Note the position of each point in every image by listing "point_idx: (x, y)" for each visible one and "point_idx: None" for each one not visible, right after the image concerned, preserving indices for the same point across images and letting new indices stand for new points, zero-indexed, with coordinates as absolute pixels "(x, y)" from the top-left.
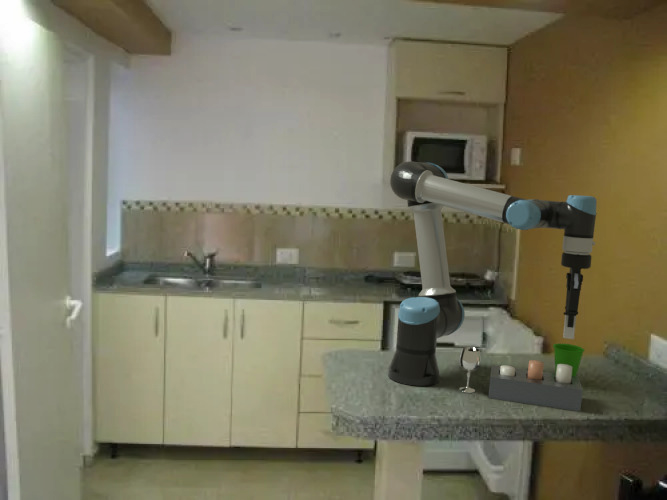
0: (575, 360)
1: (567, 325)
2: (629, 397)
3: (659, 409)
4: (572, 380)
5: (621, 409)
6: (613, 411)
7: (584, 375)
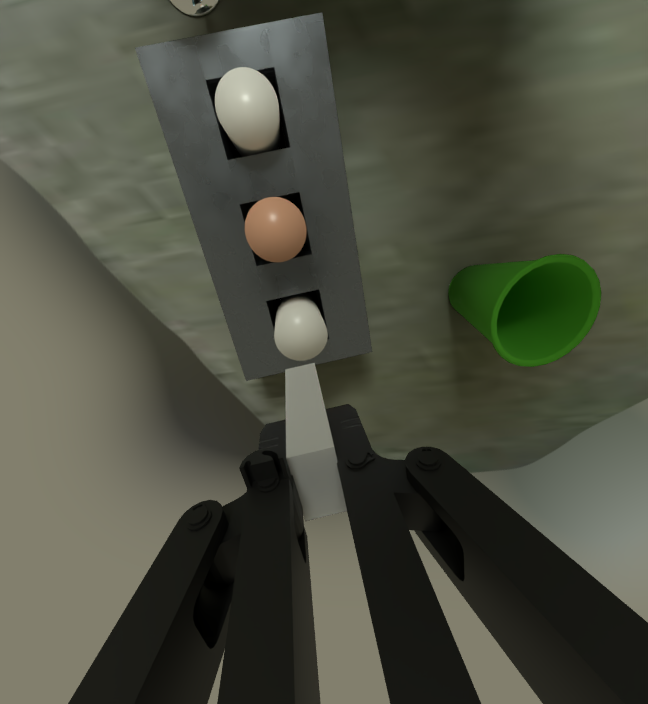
0: (485, 335)
1: (280, 425)
2: (428, 428)
3: None
4: None
5: None
6: None
7: None
